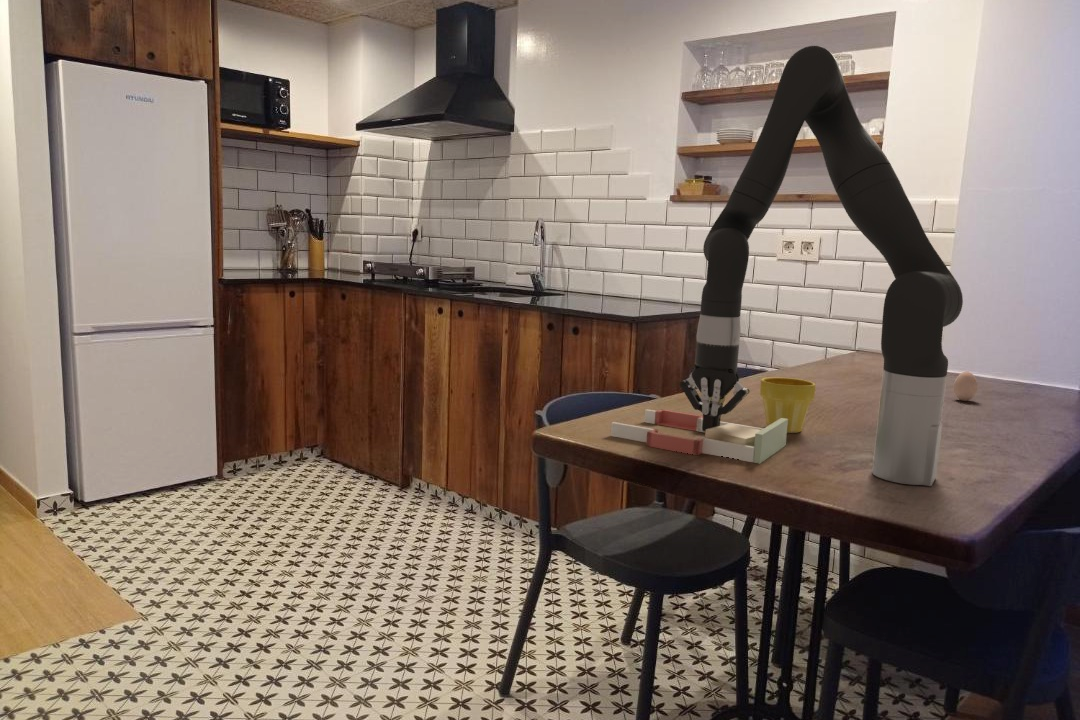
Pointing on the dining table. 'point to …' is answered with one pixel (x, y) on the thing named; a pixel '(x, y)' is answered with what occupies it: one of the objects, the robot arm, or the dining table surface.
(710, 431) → the birch block
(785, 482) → the dining table surface
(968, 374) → the egg
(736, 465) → the dining table surface
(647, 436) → the trap lane
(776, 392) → the plant pot
